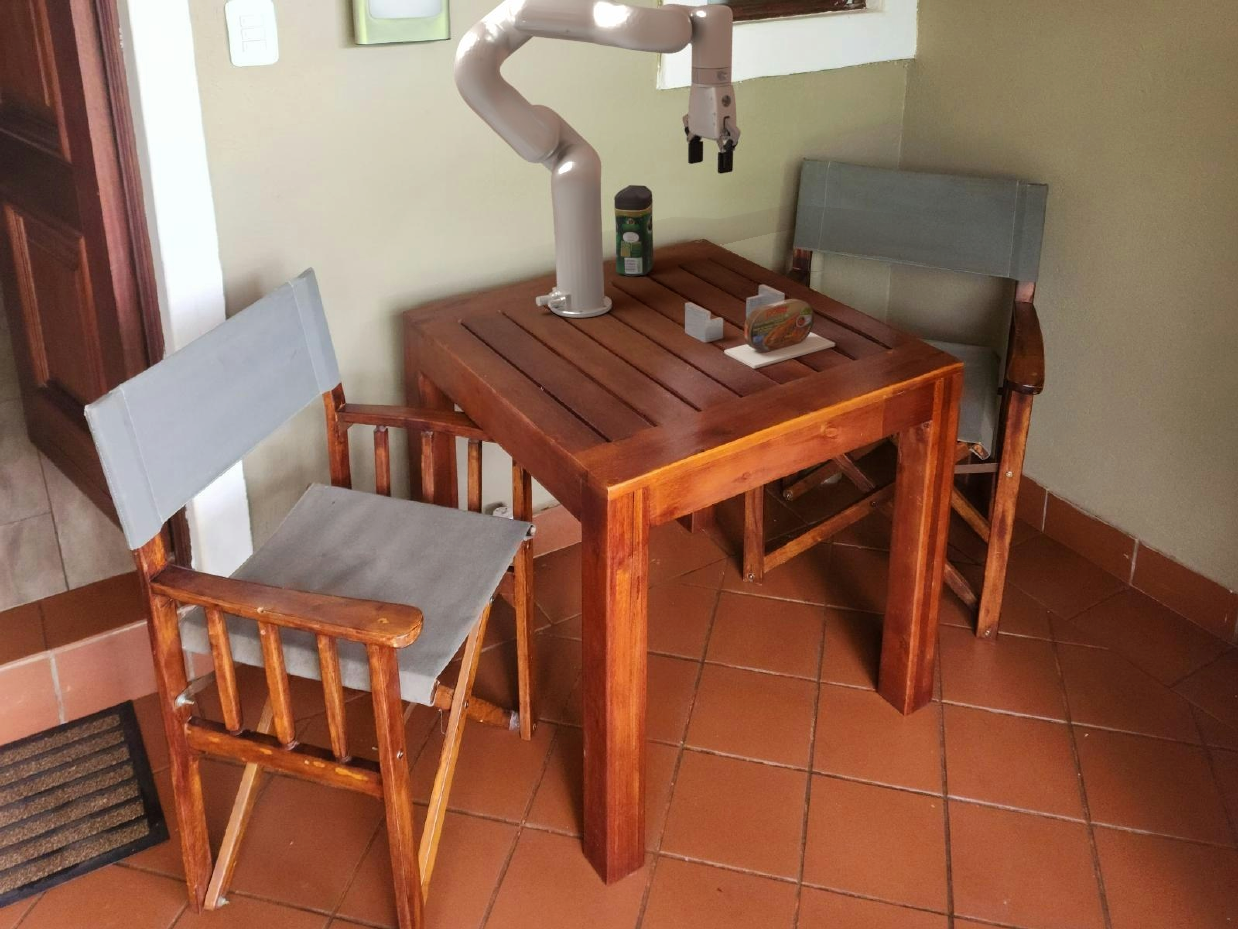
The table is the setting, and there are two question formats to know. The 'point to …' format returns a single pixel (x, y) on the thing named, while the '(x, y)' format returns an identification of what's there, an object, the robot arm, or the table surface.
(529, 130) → the robot arm
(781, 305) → the tin
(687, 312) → the end brackets
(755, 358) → the mat
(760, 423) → the table surface
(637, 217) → the coffee jar
